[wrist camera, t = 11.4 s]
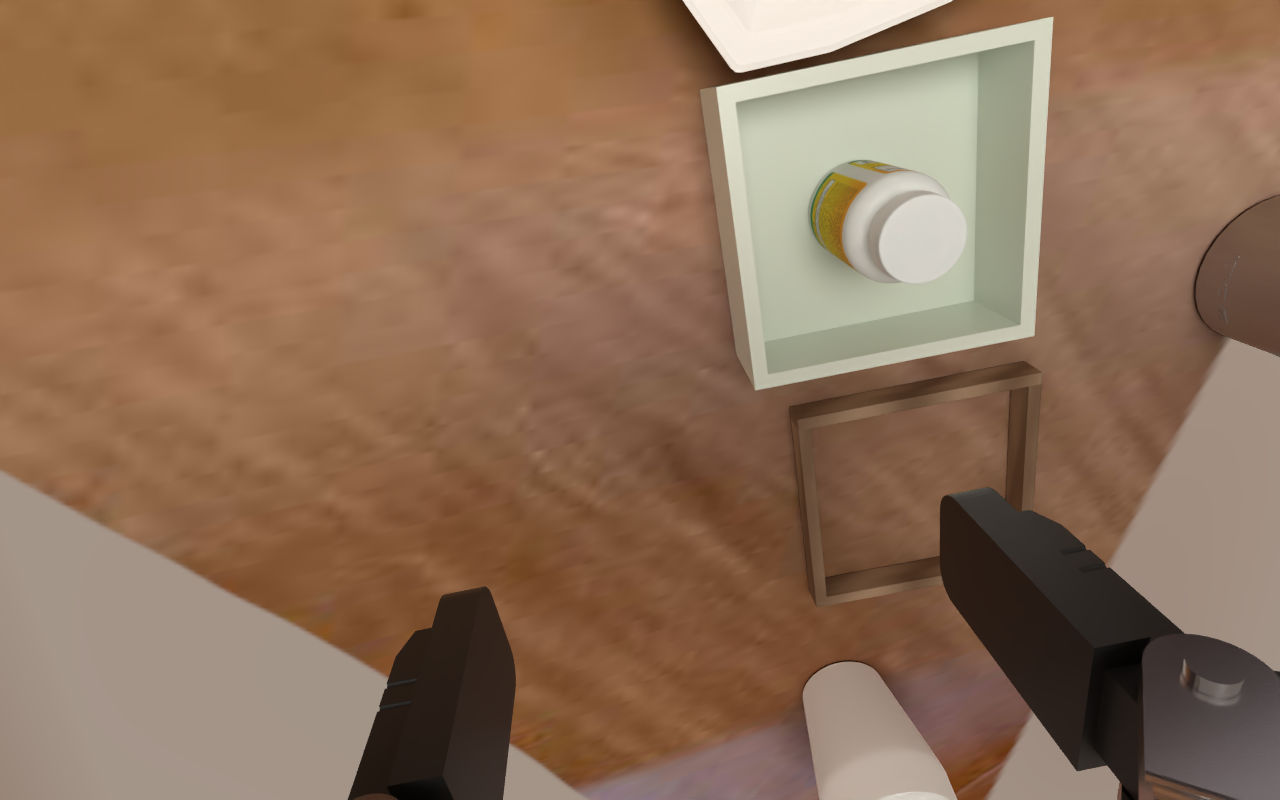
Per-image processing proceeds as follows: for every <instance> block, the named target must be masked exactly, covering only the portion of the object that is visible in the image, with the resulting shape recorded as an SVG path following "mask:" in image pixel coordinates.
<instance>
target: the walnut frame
mask: <svg viewBox="0 0 1280 800" xmlns="http://www.w3.org/2000/svg"><path fill="white" fill-rule="evenodd" d="M1041 384H1042V372H1041V371H1039V370H1037V369H1036V368H1034V367H1033V366H1031V365H1029V364H1028V363H1026V362H1024V361H1023V362H1017V363H1012V364H1007V365H1002V366H997V367H992V368H987V369H981V370H976V371H971V372H966V373H961V374H956V375H950V376H945V377H940V378H935V379H930V380H925V381H920V382H914V383H909V384H904V385H899V386H894V387H889V388H884V389H878V390H873V391H868V392H863V393H858V394H853V395H848V396H842V397H837V398H832V399H827V400H822V401H817V402H812V403H806V404H801V405H796V406H791V407H789V408H790V417H791V427H792V436H793V445H794V455H795V464H796V473H797V483H798V492H799V501H800V510H801V520H802V529H803V538H804V548H805V557H806V566H807V576H808V585H809V590H810V593H811V595H812V598H813V600H814V602H815V605H816V607H822V606H827V605H833V604H838V603H843V602H849V601H854V600H860V599H865V598H870V597H876V596H881V595H887V594H892V593H897V592H903V591H908V590H914V589H919V588H924V587H930V586H935V585H941V584H943V581H942V577H941V572H940V557H934V558H929V559H924V560H918V561H913V562H907V563H902V564H897V565H891V566H886V567H881V568H875V569H870V570H865V571H859V572H854V573H848V574H843V575H838V576H832V577H827V578H825V573H824V563H823V552H822V541H821V531H820V520H819V509H818V499H817V488H816V478H815V467H814V456H813V446H812V435H811V428H816V427H821V426H826V425H832V424H837V423H842V422H847V421H852V420H858V419H863V418H868V417H873V416H878V415H883V414H889V413H894V412H899V411H904V410H909V409H914V408H920V407H925V406H930V405H935V404H940V403H946V402H951V401H956V400H961V399H966V398H971V397H977V396H982V395H987V394H992V393H997V392H1002V391H1008V390H1011V391H1010V414H1009V436H1008V458H1007V480H1006V501H1007V502H1008V503H1009V504H1010V505H1011V506H1012V507H1013V508H1015V509H1016V510H1017V511H1018V512H1021V511H1026V510H1031V511H1033V505H1034V490H1035V475H1036V460H1037V445H1038V430H1039V415H1040V399H1041Z"/></svg>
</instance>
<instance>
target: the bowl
mask: <svg viewBox="0 0 1280 800" xmlns="http://www.w3.org/2000/svg"><path fill="white" fill-rule="evenodd" d="M951 1H953V0H683V2H684V3H685V5H686V6H687V7H688V9H689V10H690V12H691V13H692V15H693V16H694V17H695V19H696V20H697V22H698V23H699V24H700V26H701V27H702V29H703V30H704V31H705V33H706V34H707V36H708V37H709V39H710V40H711V41H712V43H713V44H714V46H715V47H716V48H717V50H718V51H719V53H720V54H721V55H722V57H723V58H724V60H725V61H726V63H727V64H728V65H729V67H730V68H731V69H732V70H733V71H734V72H741V73H742V72H746V71H750V70H755V69H759V68H764V67H768V66H772V65H777V64H781V63H785V62H790V61H794V60H798V59H803V58H807V57H812V56H816V55H820V54H825V53H829V52H832V51H835V50H837V49H839V48H842V47H844V46H846V45H849V44H851V43H854V42H856V41H858V40H861V39H863V38H866V37H868V36H870V35H873V34H875V33H877V32H880V31H882V30H885V29H887V28H889V27H892V26H894V25H896V24H899V23H901V22H904V21H906V20H908V19H911V18H913V17H915V16H918V15H920V14H923V13H925V12H927V11H930V10H932V9H935V8H937V7H939V6H942V5H944V4H946V3H949V2H951Z"/></svg>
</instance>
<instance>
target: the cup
mask: <svg viewBox="0 0 1280 800" xmlns="http://www.w3.org/2000/svg"><path fill="white" fill-rule="evenodd" d="M803 703H804V710H805V716H806V722H807V728H808V734H809V740H810V746H811V752H812V758H813V764H814V770H815V776H816V782H817V788H818V794H819V800H957V798H956V795H955V793H954V791H953V789H952V786H951V784H950V781H949V779H948V776H947V774H946V772H945V770H944V768H943V767H942V765H941V763H940V762H939V760H938V759H937V757H936V756H935V755H934V753H933V752H932V750H931V749H930V747H929V746H928V744H927V743H926V742H925V740H924V739H923V737H922V736H921V734H920V733H919V731H918V730H917V729H916V727H915V726H914V724H913V723H912V721H911V720H910V719H909V717H908V716H907V714H906V713H905V711H904V710H903V708H902V707H901V706H900V704H899V703H898V701H897V700H896V698H895V697H894V696H893V694H892V693H891V691H890V690H889V688H888V687H887V686H886V684H885V683H884V681H883V680H882V678H881V677H880V675H879V674H878V673H877V672H876V671H875V670H874V669H873V668H872V667H870V666H868V665H866V664H863V663H859V662H840V663H836V664H832V665H829V666H827V667H825V668H823V669H821V670H820V671H818V672H817V673H815V674H814V675H813V676H812V677H811V678H810V679H809V681H808V682H807V683H806V685H805V687H804V690H803Z"/></svg>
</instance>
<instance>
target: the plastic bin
mask: <svg viewBox="0 0 1280 800" xmlns="http://www.w3.org/2000/svg"><path fill="white" fill-rule="evenodd" d="M1052 29H1053V17H1049V18H1044V19H1039V20H1033V21H1028V22H1023V23H1018V24H1012V25H1007V26H1002V27H997V28H991V29H986V30H981V31H977V32H972V33H967V34H962V35H957V36H953V37H948V38H943V39H938V40H934V41H929V42H924V43H919V44H915V45H910V46H905V47H900V48H895V49H891V50H886V51H881V52H876V53H872V54H867V55H862V56H857V57H853V58H848V59H843V60H838V61H833V62H829V63H824V64H819V65H814V66H810V67H805V68H800V69H795V70H791V71H786V72H781V73H776V74H771V75H767V76H762V77H757V78H752V79H748V80H743V81H738V82H733V83H729V84H724V85H719V86H714V87H709V88H705V89H700V97H701V104H702V111H703V119H704V126H705V133H706V140H707V147H708V155H709V162H710V169H711V176H712V183H713V190H714V198H715V205H716V212H717V219H718V226H719V234H720V241H721V248H722V255H723V262H724V269H725V277H726V284H727V291H728V298H729V305H730V313H731V320H732V327H733V334H734V341H735V349H736V355H737V357H738V359H739V360H740V362H741V364H742V366H743V368H744V370H745V372H746V374H747V375H748V377H749V379H750V381H751V383H752V385H753V387H754V389H755V390H760V389H765V388H770V387H775V386H781V385H786V384H791V383H796V382H801V381H806V380H811V379H816V378H821V377H827V376H832V375H837V374H842V373H847V372H852V371H857V370H862V369H868V368H873V367H878V366H883V365H888V364H893V363H898V362H903V361H908V360H914V359H919V358H924V357H929V356H934V355H939V354H944V353H949V352H955V351H960V350H965V349H970V348H975V347H980V346H985V345H990V344H995V343H1001V342H1006V341H1011V340H1016V339H1021V338H1026V337H1031V336H1034V333H1035V316H1036V299H1037V282H1038V265H1039V249H1040V232H1041V215H1042V198H1043V181H1044V164H1045V147H1046V131H1047V114H1048V97H1049V80H1050V63H1051V46H1052ZM854 160H871V161H875V162H881V163H885V164H889V165H893V166H897V167H901V168H905V169H909V170H913V171H917V172H920V173H924V174H926V175H928V176H930V177H932V178H933V179H935V180H936V181H938V182H939V183H940V184H941V185H942V186H943V187H944V189H945V190H946V191H947V193H948V195H949V196H950V199H951V200H952V201H953V202H954V203H956V204H957V205H958V206H959V208H960V209H961V211H962V212H963V214H964V217H965V219H966V223H967V240H966V244H965V247H964V250H963V252H962V254H961V256H960V258H959V259H958V261H957V262H956V263H955V265H954V266H953V267H952V268H951V269H950V270H949V271H948V272H947V273H945V274H944V275H942V276H941V277H939V278H937V279H935V280H933V281H931V282H927V283H923V284H907V283H903V282H900V283H881V282H876V281H873V280H871V279H869V278H867V277H865V276H863V275H861V274H860V273H859V272H857V271H856V270H854V269H853V268H851V267H850V266H849V265H847V264H846V263H844V262H843V261H842V260H840V259H839V258H837V257H836V256H834V255H833V254H832V253H830V252H829V251H827V250H826V249H825V248H824V247H822V246H821V245H820V244H819V243H818V241H817V240H816V239H815V237H814V235H813V233H812V230H811V227H810V223H809V207H810V202H811V199H812V196H813V194H814V192H815V190H816V188H817V186H818V185H819V183H820V181H821V180H822V179H823V178H824V177H825V176H826V175H827V174H828V173H829V172H830V171H831V170H833V169H834V168H836V167H837V166H839V165H841V164H844V163H846V162H849V161H854Z"/></svg>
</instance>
